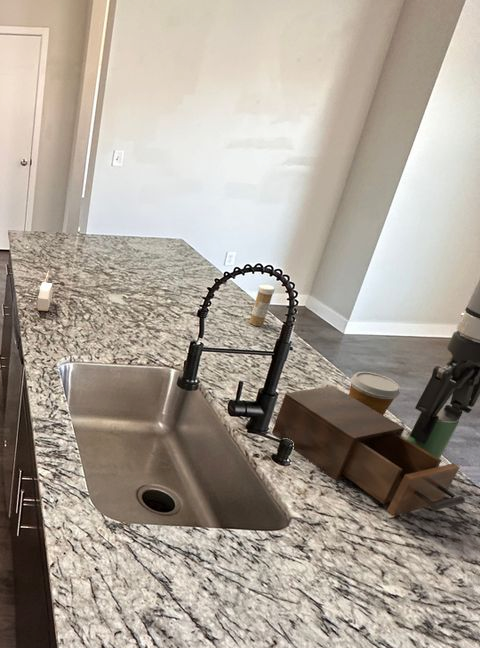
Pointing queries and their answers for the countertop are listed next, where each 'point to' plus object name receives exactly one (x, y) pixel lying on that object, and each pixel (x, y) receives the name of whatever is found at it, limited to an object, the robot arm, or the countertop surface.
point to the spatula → (45, 295)
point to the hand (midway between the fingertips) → (429, 437)
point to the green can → (438, 433)
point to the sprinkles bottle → (261, 305)
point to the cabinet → (329, 426)
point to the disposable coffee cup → (373, 390)
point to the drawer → (401, 474)
